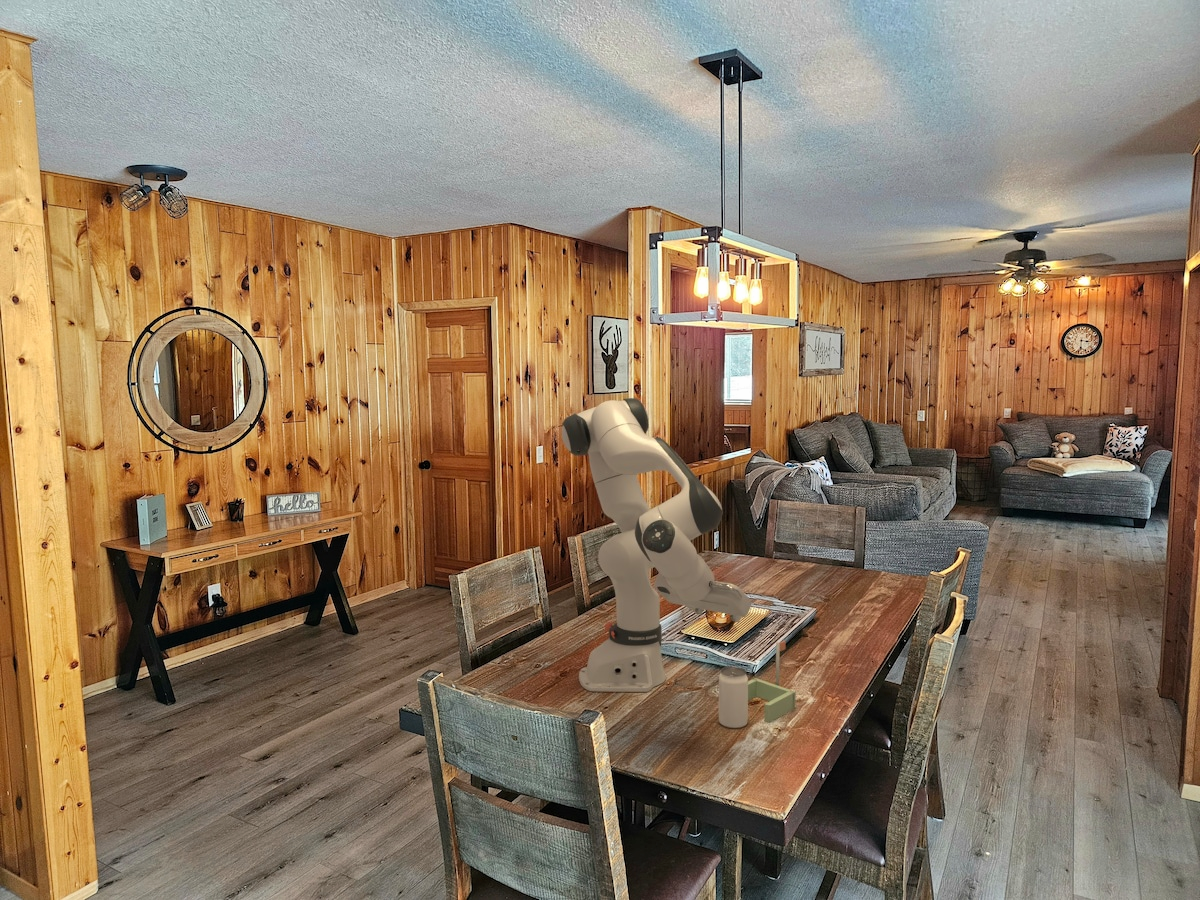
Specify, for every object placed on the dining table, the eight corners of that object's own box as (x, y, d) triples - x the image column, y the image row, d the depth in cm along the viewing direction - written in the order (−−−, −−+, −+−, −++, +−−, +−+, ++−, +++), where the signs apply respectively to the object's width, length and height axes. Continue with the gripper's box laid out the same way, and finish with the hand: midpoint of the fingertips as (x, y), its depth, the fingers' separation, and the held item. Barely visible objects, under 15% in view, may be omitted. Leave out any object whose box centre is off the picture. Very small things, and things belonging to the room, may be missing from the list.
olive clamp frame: (768, 722, 176) (769, 662, 174) (728, 707, 184) (728, 649, 183) (804, 702, 186) (805, 646, 184) (764, 688, 194) (765, 634, 193)
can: (744, 715, 179) (744, 665, 178) (750, 728, 173) (751, 676, 172) (716, 716, 179) (716, 666, 178) (721, 729, 173) (721, 677, 172)
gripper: (741, 573, 156) (766, 610, 164) (659, 561, 169) (686, 595, 177) (729, 600, 153) (755, 636, 161) (646, 585, 166) (674, 619, 174)
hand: (718, 615), depth 169 cm, fingers open, 8 cm apart
